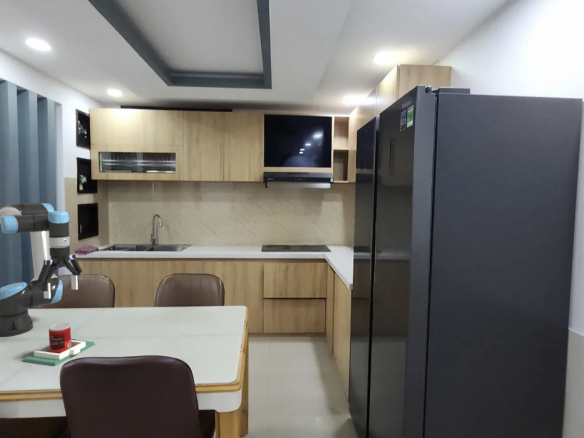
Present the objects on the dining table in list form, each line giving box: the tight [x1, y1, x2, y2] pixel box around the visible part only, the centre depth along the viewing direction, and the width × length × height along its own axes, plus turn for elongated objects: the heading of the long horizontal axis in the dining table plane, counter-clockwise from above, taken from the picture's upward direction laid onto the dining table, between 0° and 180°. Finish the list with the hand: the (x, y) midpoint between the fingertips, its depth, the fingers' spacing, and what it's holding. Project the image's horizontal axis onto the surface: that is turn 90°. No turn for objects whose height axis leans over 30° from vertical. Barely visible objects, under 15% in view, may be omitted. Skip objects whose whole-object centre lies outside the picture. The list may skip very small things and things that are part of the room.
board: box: [23, 338, 96, 367], centre depth 149 cm, size 18×20×3 cm
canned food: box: [48, 322, 72, 354], centre depth 148 cm, size 8×8×11 cm
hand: (61, 293), depth 154 cm, fingers open, 13 cm apart
